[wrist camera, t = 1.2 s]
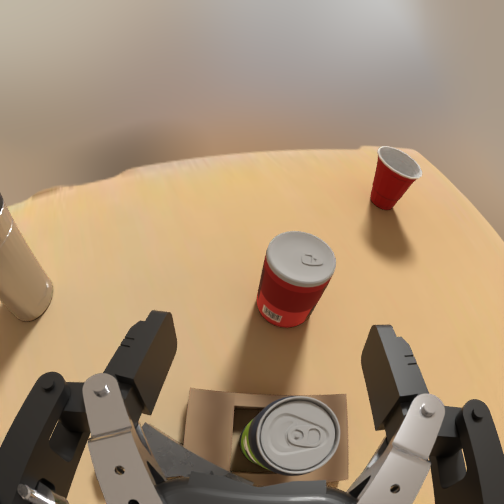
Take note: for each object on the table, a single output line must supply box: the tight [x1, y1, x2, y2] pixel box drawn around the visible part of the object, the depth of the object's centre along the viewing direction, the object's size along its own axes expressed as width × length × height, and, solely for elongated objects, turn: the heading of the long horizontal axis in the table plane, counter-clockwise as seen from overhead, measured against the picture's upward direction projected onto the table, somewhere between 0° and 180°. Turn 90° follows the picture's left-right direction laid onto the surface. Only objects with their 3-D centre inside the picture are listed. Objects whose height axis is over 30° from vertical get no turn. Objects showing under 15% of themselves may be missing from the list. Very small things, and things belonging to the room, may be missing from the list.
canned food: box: [257, 231, 336, 328], centre depth 35 cm, size 8×8×11 cm
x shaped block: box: [95, 422, 254, 486], centre depth 20 cm, size 10×18×3 cm, turn 63°
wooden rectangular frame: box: [181, 388, 348, 486], centre depth 25 cm, size 18×11×2 cm, turn 88°
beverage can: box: [240, 396, 340, 476], centre depth 21 cm, size 6×6×15 cm
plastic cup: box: [370, 146, 422, 210], centre depth 54 cm, size 11×11×12 cm
